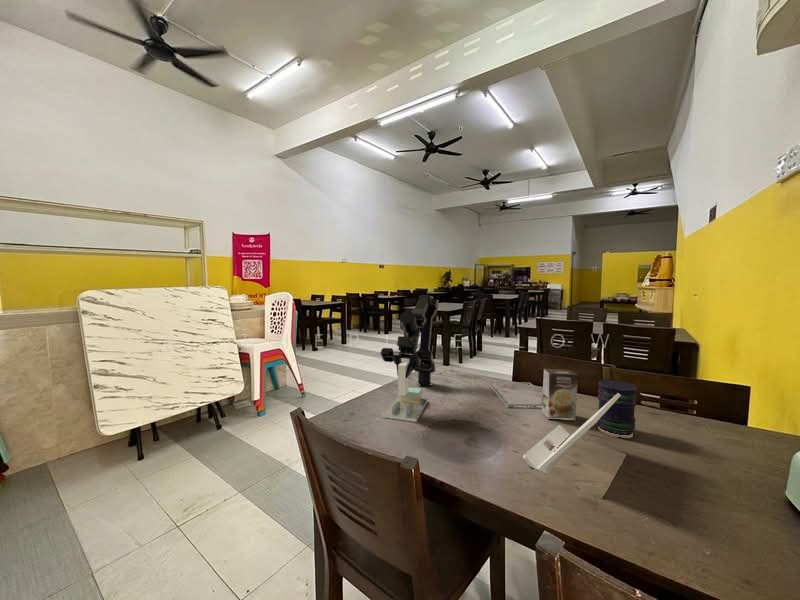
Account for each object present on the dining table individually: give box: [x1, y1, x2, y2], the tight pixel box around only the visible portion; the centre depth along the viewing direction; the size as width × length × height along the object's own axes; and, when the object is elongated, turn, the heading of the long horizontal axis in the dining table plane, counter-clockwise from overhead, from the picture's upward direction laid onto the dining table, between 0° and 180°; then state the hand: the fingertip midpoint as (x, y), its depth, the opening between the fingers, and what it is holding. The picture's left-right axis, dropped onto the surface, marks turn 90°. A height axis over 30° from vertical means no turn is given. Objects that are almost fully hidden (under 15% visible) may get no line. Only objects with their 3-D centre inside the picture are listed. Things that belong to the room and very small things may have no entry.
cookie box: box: [541, 368, 579, 420], centre depth 110 cm, size 9×6×16 cm
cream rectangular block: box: [397, 361, 409, 396], centre depth 111 cm, size 4×2×10 cm, turn 163°
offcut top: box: [400, 386, 423, 398], centre depth 122 cm, size 5×7×2 cm
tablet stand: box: [522, 393, 621, 473], centre depth 83 cm, size 18×25×17 cm
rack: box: [381, 395, 429, 423], centre depth 116 cm, size 19×12×3 cm, turn 163°
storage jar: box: [596, 379, 638, 435], centre depth 99 cm, size 10×10×15 cm
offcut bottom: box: [400, 394, 422, 403], centre depth 122 cm, size 5×7×2 cm
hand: (402, 377), depth 110 cm, fingers closed on cream rectangular block, 2 cm apart
